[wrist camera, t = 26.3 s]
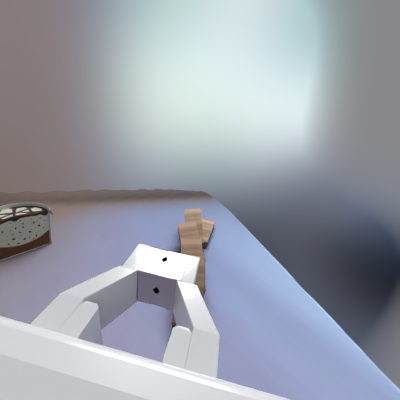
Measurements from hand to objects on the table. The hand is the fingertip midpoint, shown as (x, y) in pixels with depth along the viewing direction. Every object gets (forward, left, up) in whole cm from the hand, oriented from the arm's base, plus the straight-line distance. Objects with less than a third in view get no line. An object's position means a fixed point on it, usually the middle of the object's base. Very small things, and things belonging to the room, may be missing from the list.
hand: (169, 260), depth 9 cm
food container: (+41, +24, -29) cm, 56 cm away
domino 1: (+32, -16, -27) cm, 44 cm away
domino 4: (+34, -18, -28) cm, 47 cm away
